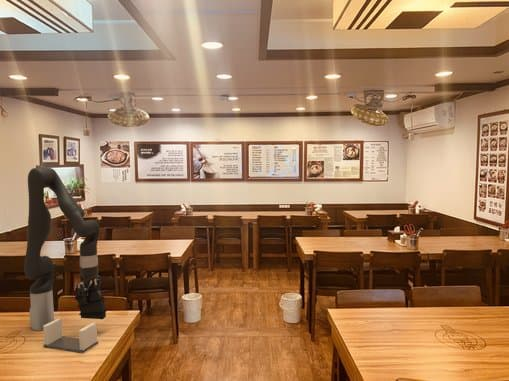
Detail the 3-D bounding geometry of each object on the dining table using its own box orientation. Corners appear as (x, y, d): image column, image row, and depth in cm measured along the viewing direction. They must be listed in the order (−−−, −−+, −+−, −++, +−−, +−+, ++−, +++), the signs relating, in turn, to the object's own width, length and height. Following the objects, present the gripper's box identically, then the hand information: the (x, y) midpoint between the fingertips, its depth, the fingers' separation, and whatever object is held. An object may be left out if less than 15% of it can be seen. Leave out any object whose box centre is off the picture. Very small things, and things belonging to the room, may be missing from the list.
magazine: (109, 316, 173) (94, 286, 173) (84, 327, 175) (70, 297, 175) (113, 313, 177) (98, 283, 177) (89, 324, 179) (75, 294, 179)
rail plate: (43, 347, 163) (43, 344, 163) (60, 337, 172) (60, 335, 172) (82, 353, 157) (82, 350, 157) (98, 343, 166) (97, 340, 166)
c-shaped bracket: (44, 344, 164) (43, 325, 163) (59, 336, 171) (58, 318, 171) (83, 350, 158) (82, 331, 157) (97, 341, 165) (96, 323, 165)
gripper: (93, 260, 182) (94, 295, 184) (70, 268, 169) (71, 306, 170) (106, 261, 180) (107, 297, 182) (84, 269, 167) (86, 308, 168)
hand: (90, 301), depth 176 cm, fingers closed on magazine, 4 cm apart
